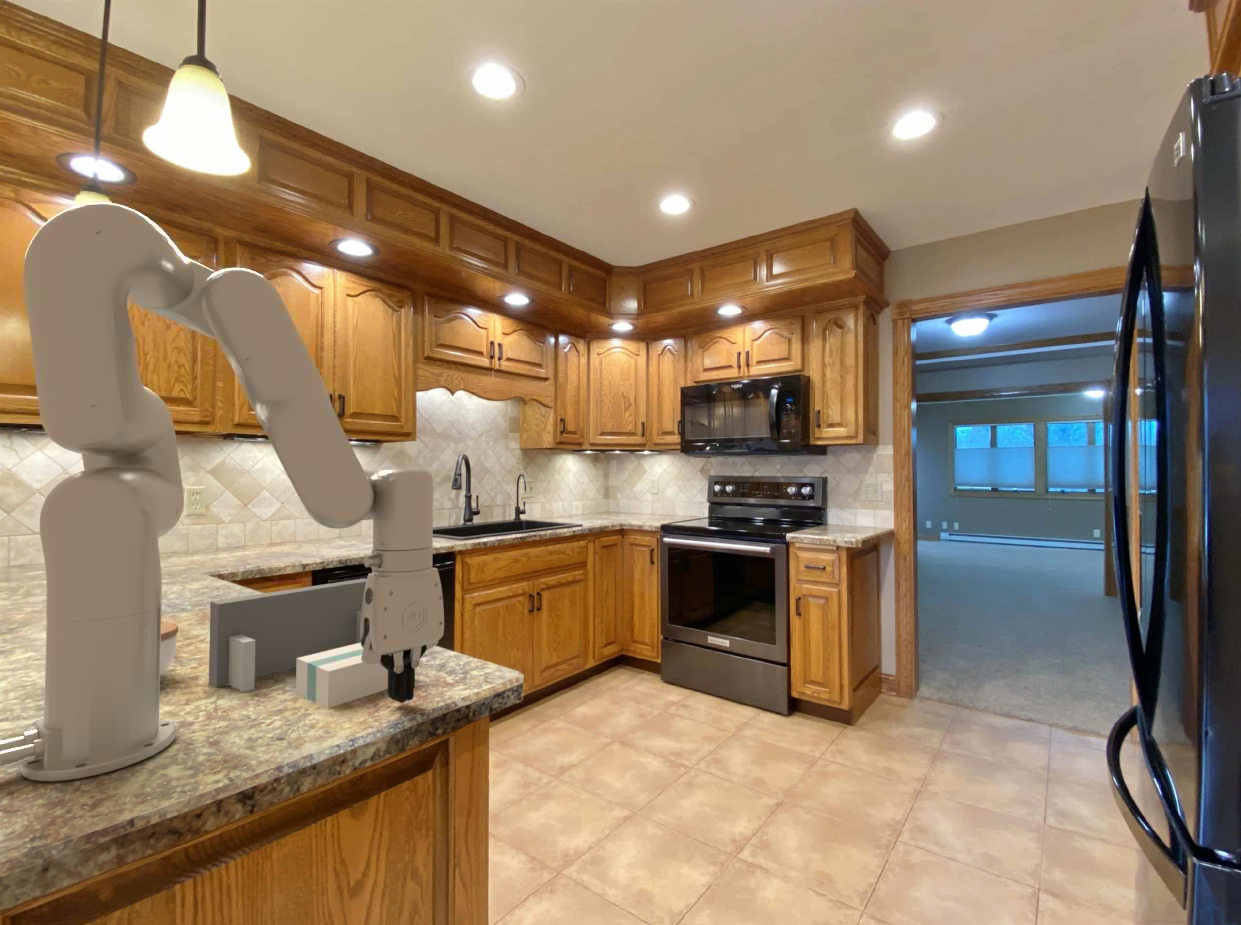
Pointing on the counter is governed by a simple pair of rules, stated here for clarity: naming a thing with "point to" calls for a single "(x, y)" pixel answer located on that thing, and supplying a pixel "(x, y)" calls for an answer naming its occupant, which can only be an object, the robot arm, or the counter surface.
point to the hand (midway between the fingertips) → (401, 698)
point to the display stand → (280, 630)
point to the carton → (338, 676)
